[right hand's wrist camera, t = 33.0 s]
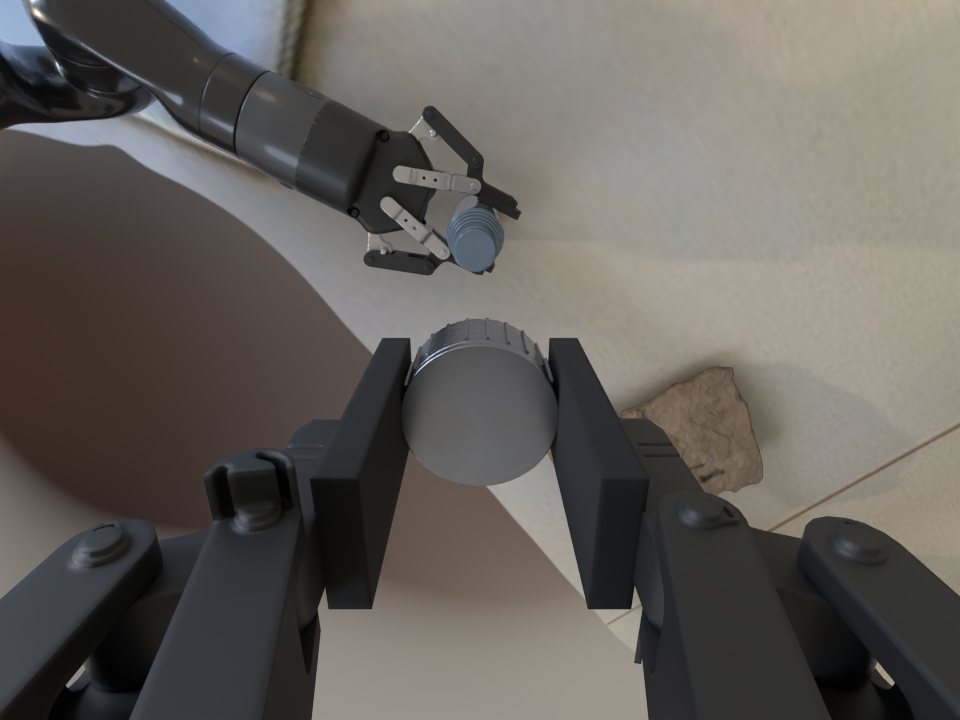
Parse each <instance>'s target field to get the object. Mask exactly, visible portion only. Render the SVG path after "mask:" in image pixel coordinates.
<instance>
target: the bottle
mask: <svg viewBox="0 0 960 720" xmlns="http://www.w3.org/2000/svg"><path fill="white" fill-rule="evenodd" d="M503 242H504V232H503V228H502V225H501V221H500V218H499V215H498V212H497V210H496V209H494V208H492V207H490V206H488V205H487V204H484V203H482V202H480V201H478V200H477V196H475V195H470V196H467V197H465V198H464V199H462V200H461V201H460V202H459V204H458V205H457V207H456V209H455V212H454V214H453V217H452V220H451V222H450V225H449V227H448V231H447V243H448V247H449V249H450V251H451V253H452V254H453V256H454V259H455V261H456V263H457V264H458V265H460V266H461V267H462V268H463V269H466V270H468V271H472V272H480V271H483V270H485V269H487V268H488V267H490V266H491V264H492V263H493V262H494V260H495V258H496V257H497V256H498V254H499V253H500V251H501V249H502V246H503Z"/></svg>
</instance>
